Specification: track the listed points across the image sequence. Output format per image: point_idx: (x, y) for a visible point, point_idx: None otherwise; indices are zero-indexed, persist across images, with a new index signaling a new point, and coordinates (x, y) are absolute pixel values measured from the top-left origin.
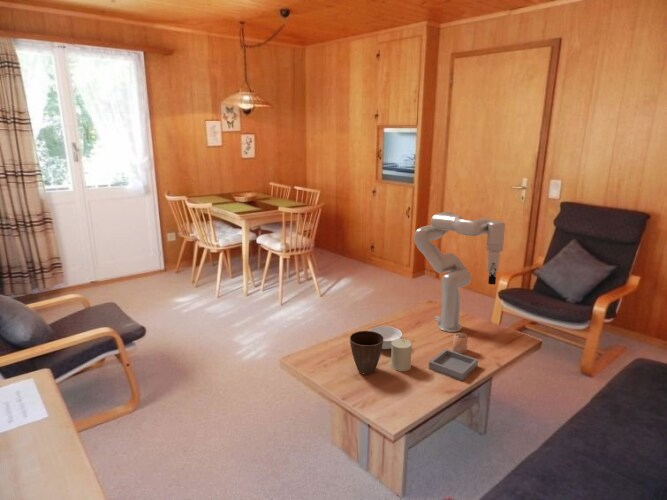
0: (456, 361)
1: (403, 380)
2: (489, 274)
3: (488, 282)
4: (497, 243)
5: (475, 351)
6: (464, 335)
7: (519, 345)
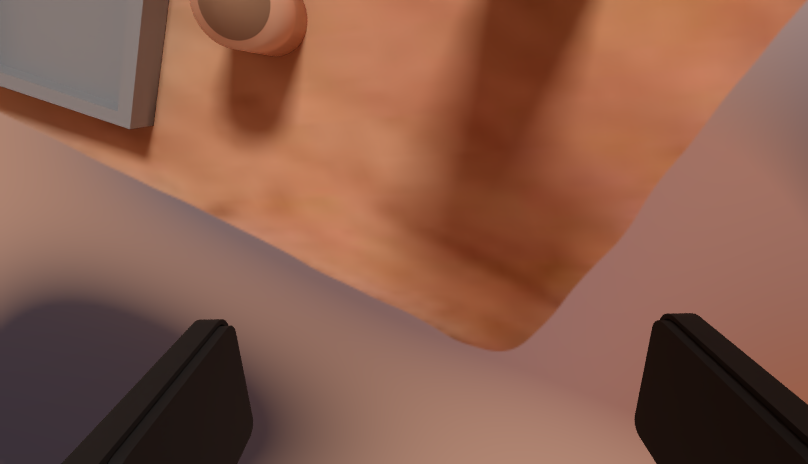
0: (117, 17)
1: None
2: (705, 370)
3: (188, 334)
4: None
5: (299, 102)
6: (246, 26)
7: (442, 290)
